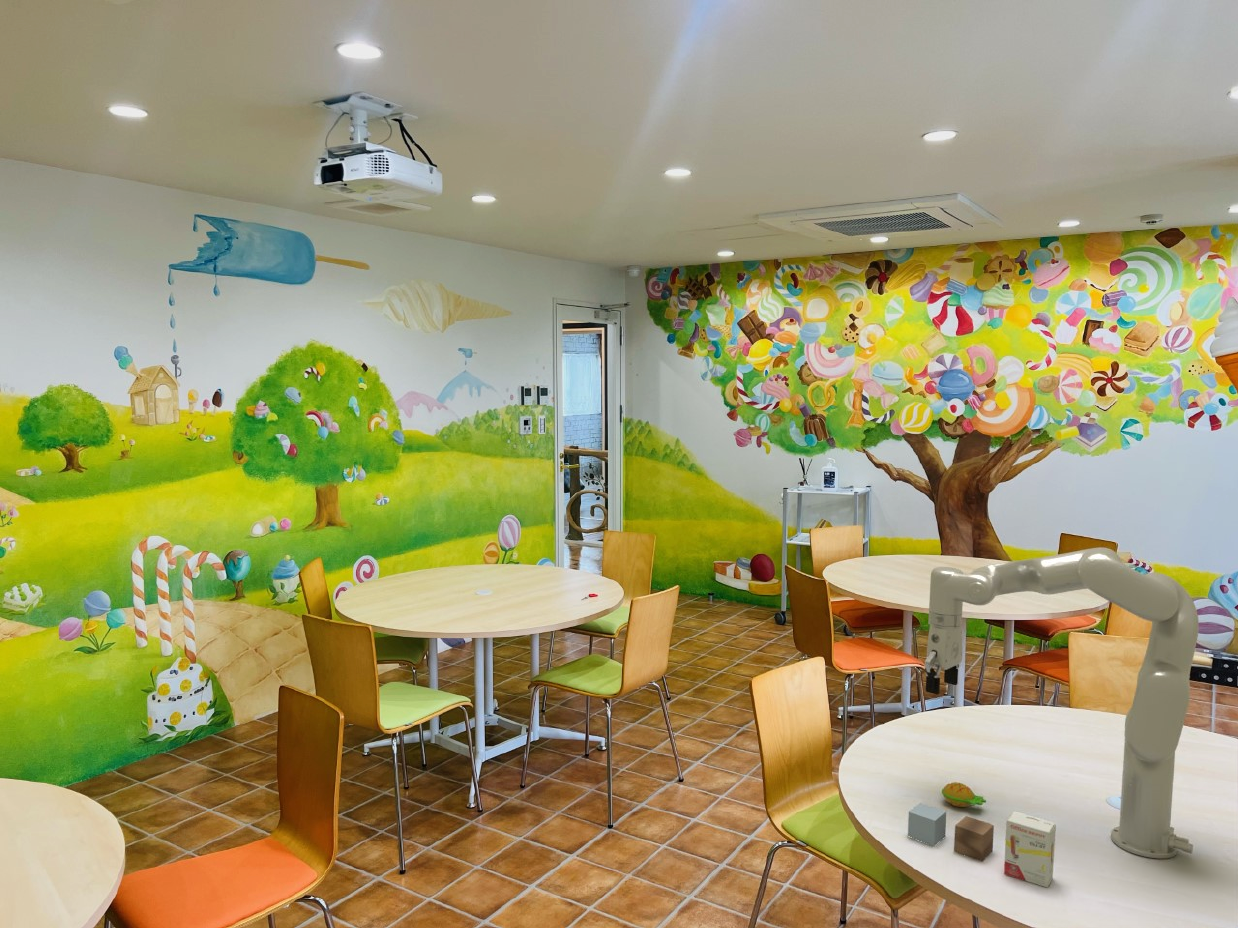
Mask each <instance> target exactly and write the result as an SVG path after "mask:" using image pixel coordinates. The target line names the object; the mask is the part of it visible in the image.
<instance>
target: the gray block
mask: <svg viewBox="0 0 1238 928" xmlns="http://www.w3.org/2000/svg"><path fill="white" fill-rule="evenodd" d="M907 820H908V821H907V822H908V824H907V837H908V836H910V837H912V838H914V839H917V840H919V841H922V842H925V843H927V844H929V845H928V846H930V845H932V846H931V847H933V846H934V847H935V845H936V844H937V843H938V842H939V841H940V842H942V841H943V840H944V839H945V838H946V833H947V831H946V829H947V828H946V827H947V826H946V825H947V811H946V810H943V809H940V808H937V807H934V806H932V805H929V804H926V803H922V802H919V803H918V804H917V805H916V806H914V807H913V808H911V809H910V810H909V811H908V819H907ZM944 837H945V838H944ZM943 838H944V839H943ZM914 839H913V840H914ZM917 840H916V841H917ZM919 841H918V842H919ZM922 842H921V843H922ZM940 842H939V843H940ZM925 843H924V844H925ZM939 843H938V844H939ZM927 844H926V845H927ZM938 844H937V845H938ZM937 845H936V846H937Z"/></svg>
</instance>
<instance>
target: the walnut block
mask: <svg viewBox="0 0 1238 928" xmlns="http://www.w3.org/2000/svg"><path fill="white" fill-rule="evenodd" d="M994 827H995V824H992V823H988V822H986V821H982V820H980V819H978V818H977V819H976V818H974V817H971V816H968V815H965V816H964V817H963V818H962V819H961V820H960V821H959V822H957V823H956V824H955V825H954V845H953V853H956V854H959V855H962V856H964V855H965V856H964V857H968V858H970V859H973V860H975V861H978V862H981V863H982V862H984V861H985V860H986V859H987V858H988V857H989V856H990V855H991V854H992V853H993V849H994V833H995V832H994V829H995V828H994Z"/></svg>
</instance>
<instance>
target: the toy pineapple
mask: <svg viewBox="0 0 1238 928" xmlns="http://www.w3.org/2000/svg"><path fill="white" fill-rule="evenodd" d="M940 792H941V794H942V796H943V798H944V799H945V801H947V802H948V803H949V804H951V805H952V806H955V807H958V808H966V807H969V806H971V805H972V806H976V805H978V806H983V804H984V803H986V802H987V800H986V799H984V796H981V795H975V793H974V792H973V790H972V789H971V788H970V787H969V786H967V785H966V784H964V783H961V782H956V781H954V782H951V783H949V782H948V784H945V786H943V788H942V789H941V791H940Z"/></svg>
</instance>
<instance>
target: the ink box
mask: <svg viewBox="0 0 1238 928" xmlns="http://www.w3.org/2000/svg"><path fill="white" fill-rule="evenodd" d="M1005 825H1006V828H1005V844H1004V845H1005V848H1004V870H1003V874H1004V875H1006V876H1009V877H1013V878H1016V879H1018V880H1022V881H1024V882H1029V883H1031V884H1034V885H1037V886H1041V887H1044V888H1048V887H1049V886H1050V884H1051V882H1052V880H1053V878H1054V877H1053V876H1054V875H1053V874H1054V863H1055V861H1054V860H1055V848H1056V847H1055V846H1056V829H1057V826H1056V824H1055V822H1053V821H1050V820H1046V819H1042V818H1039V817H1036V816H1034V815H1033V816H1032V815H1029V814H1027V813H1022V812H1019V811H1012V813H1010V815H1009V816H1008V817H1007V819H1006V823H1005Z"/></svg>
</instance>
